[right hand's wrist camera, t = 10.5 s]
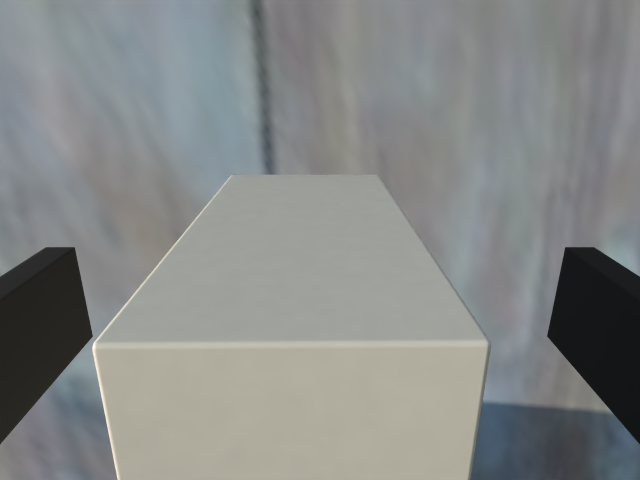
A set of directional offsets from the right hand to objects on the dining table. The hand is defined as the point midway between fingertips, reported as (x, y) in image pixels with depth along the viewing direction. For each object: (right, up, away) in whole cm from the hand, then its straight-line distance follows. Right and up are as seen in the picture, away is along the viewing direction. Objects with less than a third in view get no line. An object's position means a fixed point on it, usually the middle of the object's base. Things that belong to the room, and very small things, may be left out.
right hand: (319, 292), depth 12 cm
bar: (0, -12, +7) cm, 14 cm away
